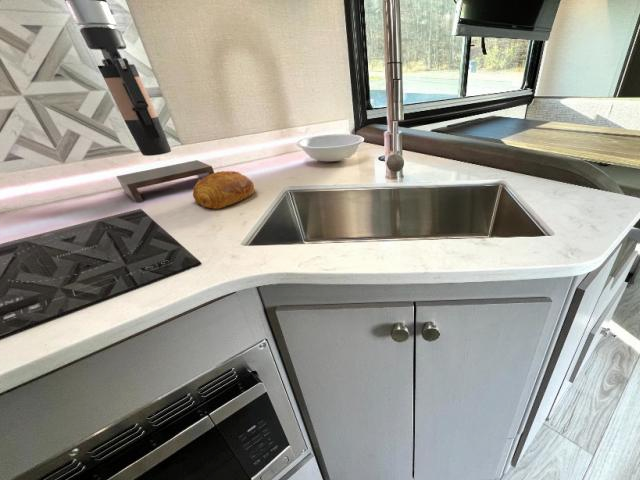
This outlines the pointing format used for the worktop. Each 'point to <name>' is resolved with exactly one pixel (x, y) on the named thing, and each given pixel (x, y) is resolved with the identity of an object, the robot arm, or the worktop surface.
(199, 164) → the shelf
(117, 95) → the travel mug
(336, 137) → the soup bowl
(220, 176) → the croissant
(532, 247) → the worktop surface
